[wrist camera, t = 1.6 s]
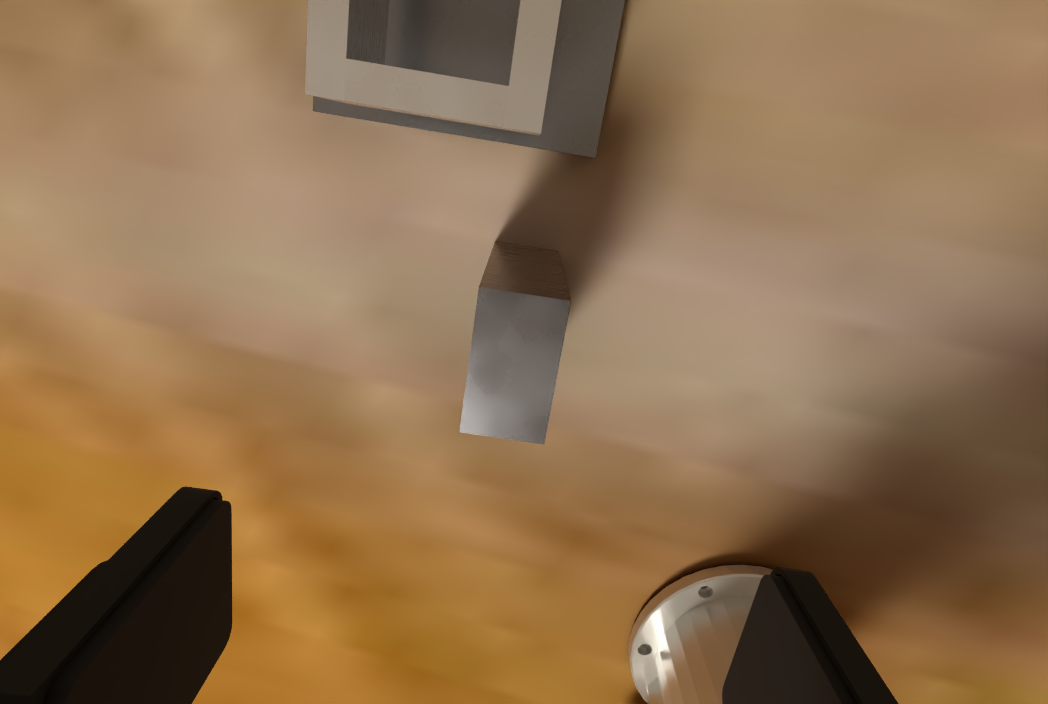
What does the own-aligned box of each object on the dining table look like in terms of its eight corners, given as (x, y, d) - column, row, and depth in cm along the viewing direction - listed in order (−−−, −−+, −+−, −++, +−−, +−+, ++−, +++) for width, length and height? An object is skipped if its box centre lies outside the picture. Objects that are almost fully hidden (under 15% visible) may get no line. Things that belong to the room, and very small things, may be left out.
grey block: (539, 355, 32) (543, 444, 23) (480, 346, 32) (459, 432, 22) (558, 251, 30) (570, 301, 21) (495, 241, 30) (478, 286, 21)
